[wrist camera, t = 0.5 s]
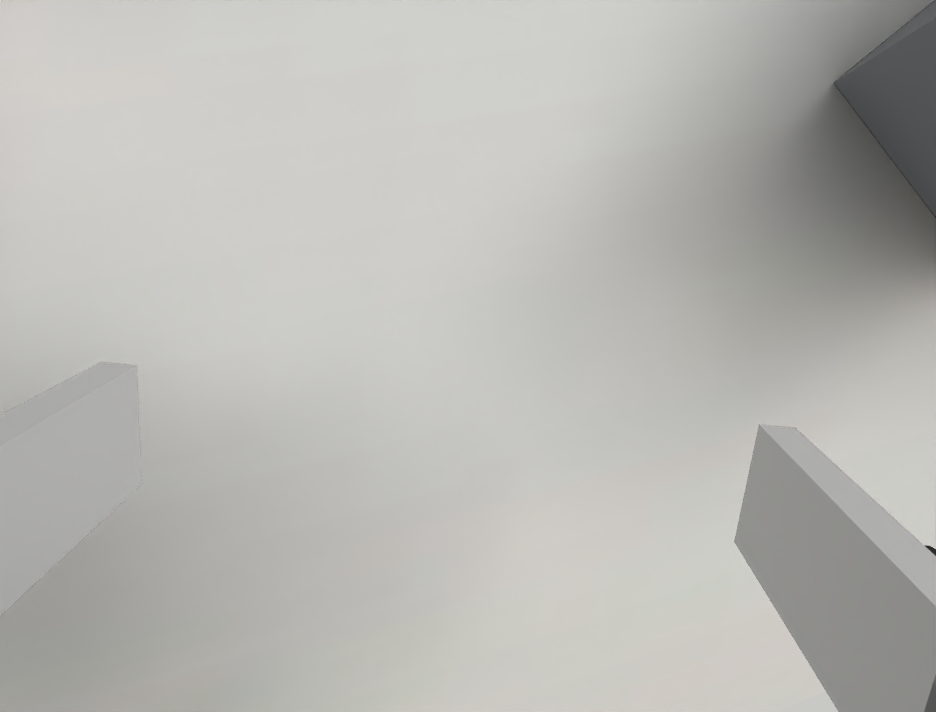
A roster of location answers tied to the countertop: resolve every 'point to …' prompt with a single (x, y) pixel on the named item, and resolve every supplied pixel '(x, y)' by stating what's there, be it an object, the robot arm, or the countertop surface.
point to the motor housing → (901, 99)
